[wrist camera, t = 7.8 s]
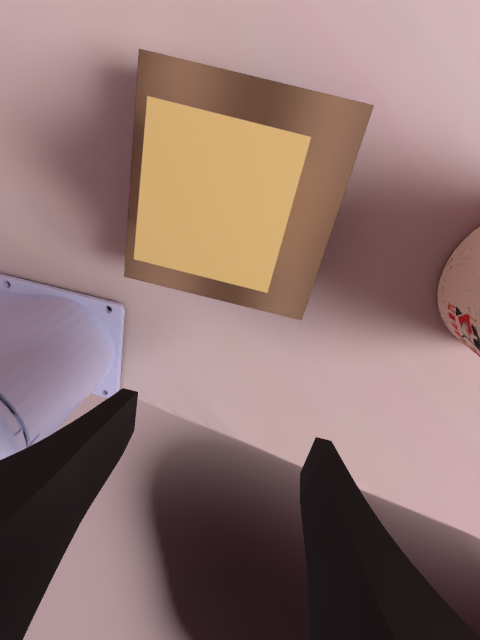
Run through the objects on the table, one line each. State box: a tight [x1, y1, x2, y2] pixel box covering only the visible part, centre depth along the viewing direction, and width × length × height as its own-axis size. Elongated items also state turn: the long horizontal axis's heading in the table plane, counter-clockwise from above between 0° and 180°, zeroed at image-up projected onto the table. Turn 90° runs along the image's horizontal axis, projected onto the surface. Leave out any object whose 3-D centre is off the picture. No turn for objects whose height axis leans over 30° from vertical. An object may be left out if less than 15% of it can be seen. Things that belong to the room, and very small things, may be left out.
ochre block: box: [134, 96, 311, 293], centre depth 12 cm, size 5×5×5 cm
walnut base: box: [124, 49, 374, 320], centre depth 16 cm, size 10×10×3 cm
